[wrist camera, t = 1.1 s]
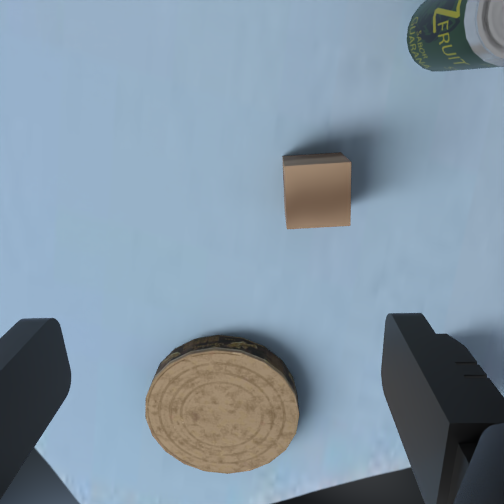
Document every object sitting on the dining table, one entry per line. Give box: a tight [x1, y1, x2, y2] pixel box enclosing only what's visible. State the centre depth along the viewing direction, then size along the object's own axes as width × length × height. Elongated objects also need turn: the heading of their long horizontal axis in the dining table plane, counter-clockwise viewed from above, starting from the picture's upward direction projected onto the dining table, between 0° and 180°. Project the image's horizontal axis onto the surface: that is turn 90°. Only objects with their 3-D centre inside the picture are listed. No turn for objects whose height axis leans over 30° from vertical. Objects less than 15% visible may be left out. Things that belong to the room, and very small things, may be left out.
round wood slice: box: [146, 335, 299, 474], centre depth 45 cm, size 16×16×3 cm
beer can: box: [407, 0, 504, 71], centre depth 28 cm, size 5×5×12 cm
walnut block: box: [282, 152, 351, 229], centre depth 35 cm, size 5×5×5 cm
